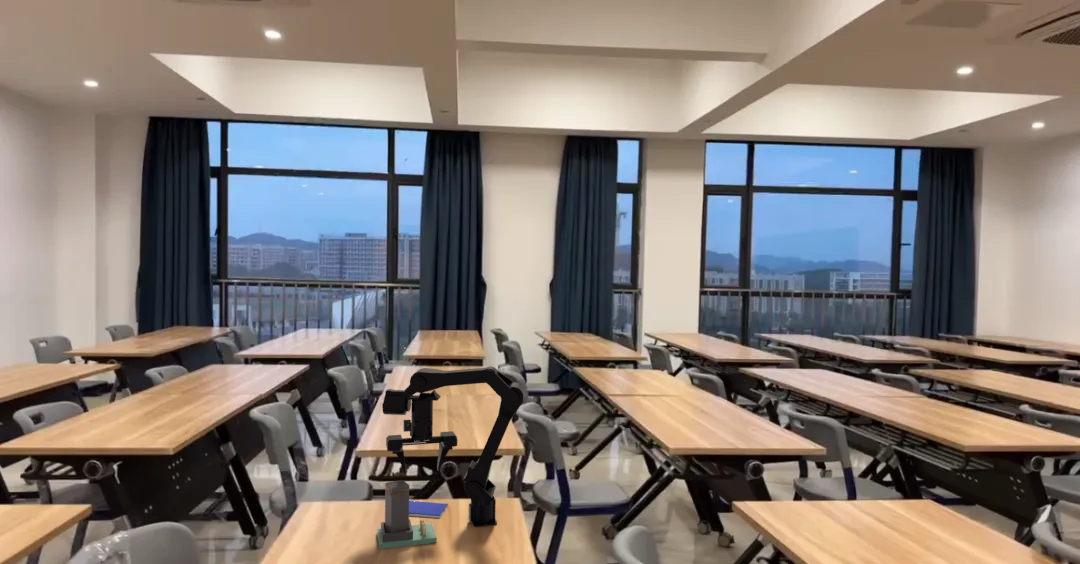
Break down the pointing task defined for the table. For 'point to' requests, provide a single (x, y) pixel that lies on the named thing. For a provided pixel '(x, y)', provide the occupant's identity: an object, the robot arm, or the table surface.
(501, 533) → the table surface
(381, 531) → the header board
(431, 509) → the hard drive
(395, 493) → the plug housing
